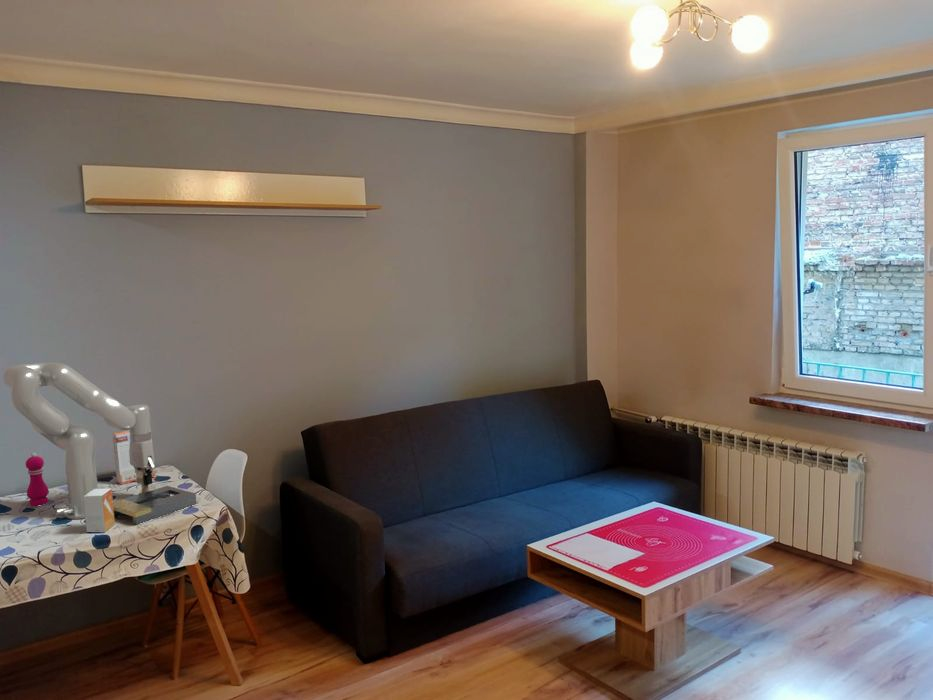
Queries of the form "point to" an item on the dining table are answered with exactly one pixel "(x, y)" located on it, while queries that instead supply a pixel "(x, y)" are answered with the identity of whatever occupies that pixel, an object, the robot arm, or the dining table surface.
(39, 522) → the dining table surface
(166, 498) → the keyhole plate
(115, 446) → the cracker box
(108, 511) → the small box
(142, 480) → the maple peg
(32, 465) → the pepper mill
